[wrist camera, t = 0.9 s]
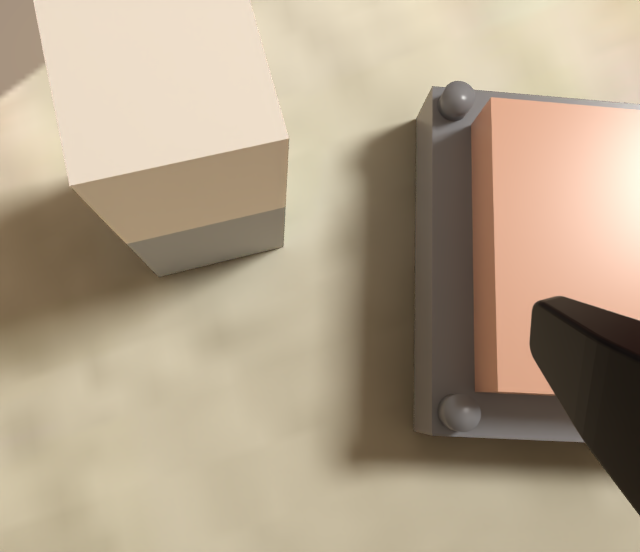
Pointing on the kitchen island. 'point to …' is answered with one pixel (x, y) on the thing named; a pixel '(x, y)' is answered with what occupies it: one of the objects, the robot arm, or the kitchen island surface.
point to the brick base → (453, 282)
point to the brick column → (169, 125)
